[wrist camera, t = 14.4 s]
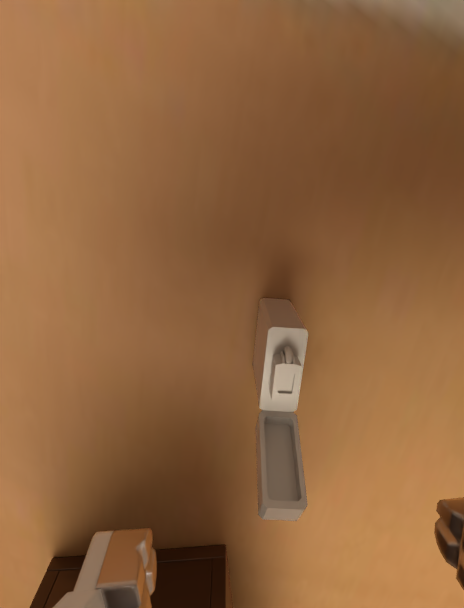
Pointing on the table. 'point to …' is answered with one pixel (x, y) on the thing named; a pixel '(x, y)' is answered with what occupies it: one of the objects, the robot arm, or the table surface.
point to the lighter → (279, 410)
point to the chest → (170, 579)
